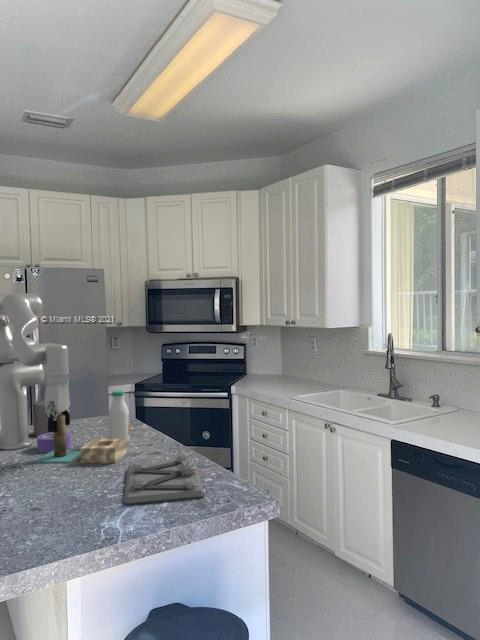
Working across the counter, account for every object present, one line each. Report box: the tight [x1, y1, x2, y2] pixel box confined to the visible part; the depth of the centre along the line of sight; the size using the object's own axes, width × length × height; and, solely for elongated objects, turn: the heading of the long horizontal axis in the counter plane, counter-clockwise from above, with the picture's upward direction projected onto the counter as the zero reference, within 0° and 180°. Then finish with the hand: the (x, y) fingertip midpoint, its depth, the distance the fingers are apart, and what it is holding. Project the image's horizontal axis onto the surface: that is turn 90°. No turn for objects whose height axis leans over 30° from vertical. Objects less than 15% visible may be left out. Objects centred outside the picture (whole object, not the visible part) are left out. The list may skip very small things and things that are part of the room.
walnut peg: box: [53, 414, 67, 457], centre depth 175 cm, size 4×4×14 cm
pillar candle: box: [32, 399, 54, 438], centre depth 209 cm, size 10×10×15 cm
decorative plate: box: [123, 450, 206, 505], centre depth 148 cm, size 30×22×7 cm
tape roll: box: [36, 431, 72, 453], centre depth 188 cm, size 12×12×5 cm
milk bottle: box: [108, 390, 131, 444], centre depth 193 cm, size 8×8×20 cm
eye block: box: [80, 438, 128, 464], centre depth 174 cm, size 12×12×5 cm
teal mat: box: [35, 450, 81, 464], centre depth 175 cm, size 12×12×1 cm
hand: (59, 428), depth 175 cm, fingers open, 9 cm apart
